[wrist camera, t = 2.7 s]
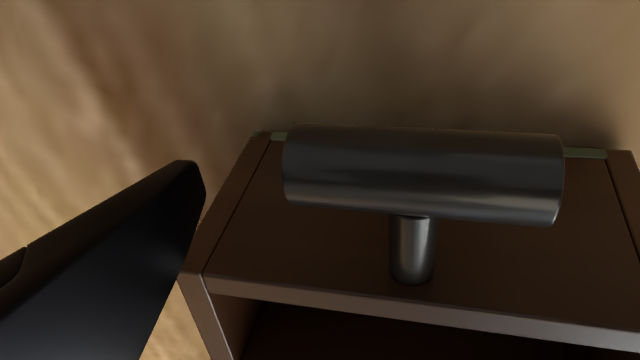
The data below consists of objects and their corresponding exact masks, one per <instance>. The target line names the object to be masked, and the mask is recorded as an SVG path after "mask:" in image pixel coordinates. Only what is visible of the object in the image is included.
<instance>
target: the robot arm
mask: <svg viewBox="0 0 640 360" xmlns="http://www.w3.org/2000/svg"><path fill="white" fill-rule="evenodd" d="M205 199H206V190H205V186H204V183H203V180H202V177H201V174H200V170H199V167H198V165H197V163H196V162H194V161H192V160H175V161H173V162H171V163H170V164H168V165H166V166H164V167H163V168H161V169H159V170H157V171H156V172H154V173H152V174H150V175H149V176H147V177H145V178H143V179H142V180H140V181H138V182H136V183H135V184H133V185H131V186H129V187H128V188H126V189H124V190H122V191H121V192H119V193H117V194H115V195H114V196H112V197H110V198H108V199H107V200H105V201H103V202H101V203H100V204H98V205H96V206H94V207H93V208H91V209H89V210H87V211H86V212H84V213H82V214H80V215H79V216H77V217H75V218H73V219H72V220H70V221H68V222H66V223H65V224H63V225H61V226H59V227H58V228H56V229H54V230H52V231H51V232H49V233H47V234H45V235H44V236H42V237H40V238H38V239H37V240H35V241H33V242H31V243H30V244H28V245H27V247H22V248H21V249H19V250H17V251H16V252H14V253H12V254H10V255H9V256H7V257H5V258H3V259H1V260H0V360H139V358H140V356H141V354H142V352H143V350H144V348H145V346H146V343H147V341H148V339H149V337H150V335H151V333H152V331H153V328H154V326H155V324H156V322H157V320H158V318H159V315H160V313H161V311H162V309H163V307H164V305H165V303H166V300H167V298H168V296H169V294H170V292H171V290H172V288H173V285H174V283H175V281H176V279H177V277H178V275H179V272H180V270H181V268H182V266H183V264H184V261H185V259H186V256H187V253H188V251H189V248H190V245H191V242H192V239H193V236H194V233H195V230H196V227H197V224H198V221H199V218H200V215H201V212H202V209H203V206H204V203H205Z"/></svg>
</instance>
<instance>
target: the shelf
mask: <svg viewBox="0 0 640 360" xmlns="http://www.w3.org/2000/svg"><path fill="white" fill-rule="evenodd" d="M176 280H177V282H178V284H179V287H180V289H181V291H182V294H183V296H184V298H185V300H186V303H187V305H188V307H189V309H190V312H191V314H192V316H193V319H194V321H195V323H196V325H197V328H198V330H199V332H200V335H201V337H202V339H203V341H204V344H205V346H206V348H207V350H208V353H209V355H210V357H211V360H640V171H639V169H638V167H637V164H636V162H635V159H634V156H633V154H632V152H631V151H630V150H612V149H593V148H575V147H563V145H562V141H561V139H560V137H559V136H558V135H556V134H542V133H521V132H500V131H479V130H457V129H436V128H415V127H394V126H373V125H352V124H331V123H310V122H296V123H293V124H292V125H291V127H290V128H289V130H288V132H273V131H254V132H253V134H252V136H251V137H250V139H249V141H248V143H247V144H246V146H245V148H244V149H243V151H242V153H241V155H240V156H239V158H238V160H237V161H236V163H235V165H234V167H233V168H232V170H231V172H230V173H229V175H228V177H227V179H226V180H225V182H224V184H223V185H222V187H221V189H220V191H219V192H218V194H217V196H216V197H215V199H214V201H213V203H212V204H211V206H210V208H209V209H208V211H207V213H206V215H205V216H204V218H203V220H202V221H201V223H200V225H199V227H198V228H197V230H196V232H195V233H194V236H193V239H192V242H191V245H190V248H189V251H188V253H187V256H186V259H185V261H184V264H183V266H182V268H181V270H180V272H179V275H178V277H177V279H176Z"/></svg>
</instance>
